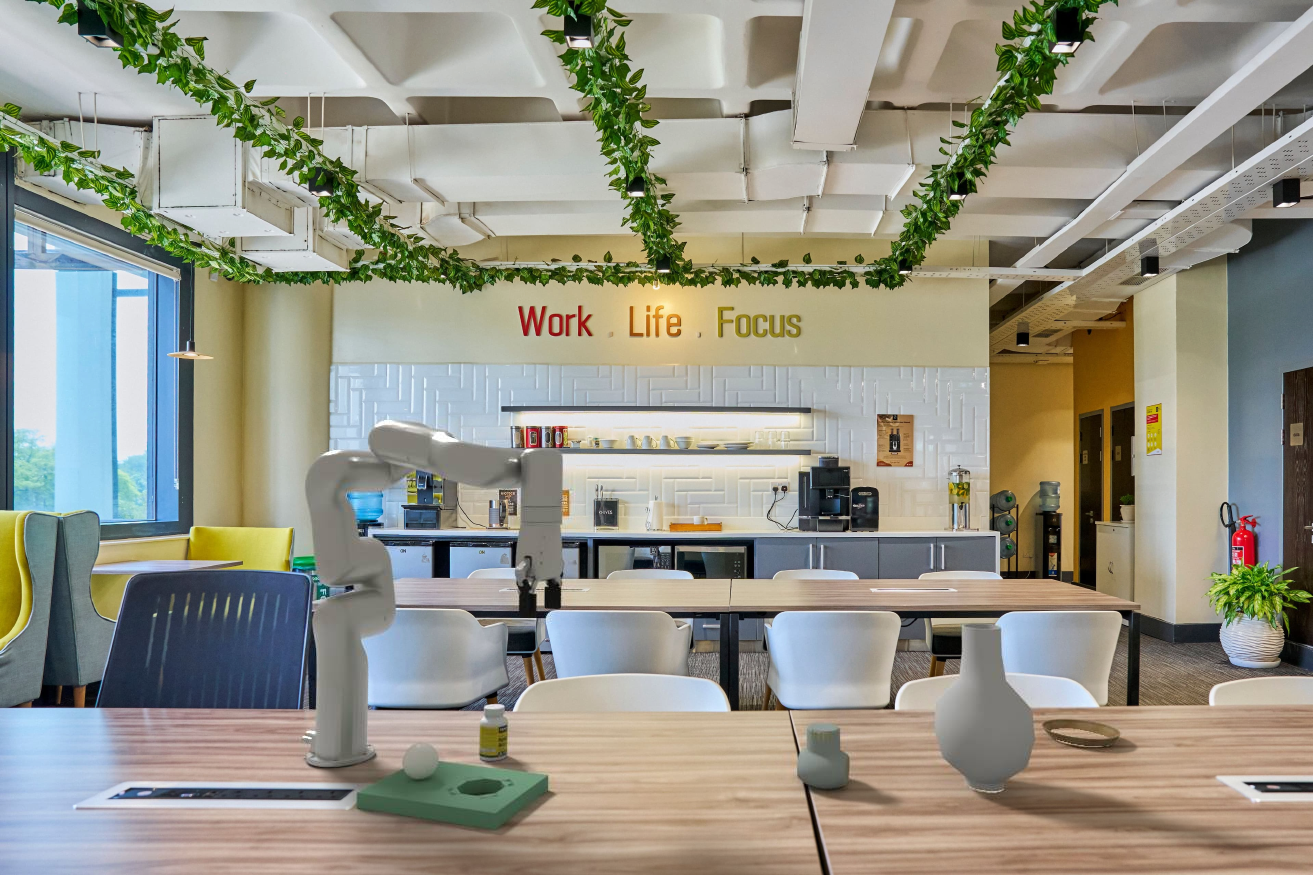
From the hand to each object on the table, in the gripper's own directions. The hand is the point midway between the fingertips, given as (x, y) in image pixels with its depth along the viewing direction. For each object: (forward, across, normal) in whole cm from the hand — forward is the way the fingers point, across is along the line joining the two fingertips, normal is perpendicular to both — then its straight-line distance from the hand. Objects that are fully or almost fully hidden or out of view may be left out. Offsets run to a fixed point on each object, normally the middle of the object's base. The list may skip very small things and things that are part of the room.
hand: (540, 612), depth 149 cm
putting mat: (+30, +10, -10) cm, 34 cm away
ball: (+25, +10, -18) cm, 32 cm away
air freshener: (+31, -17, +48) cm, 59 cm away
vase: (+30, -25, +75) cm, 84 cm away
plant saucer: (+31, -61, +95) cm, 117 cm away
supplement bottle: (+31, -11, -15) cm, 36 cm away
